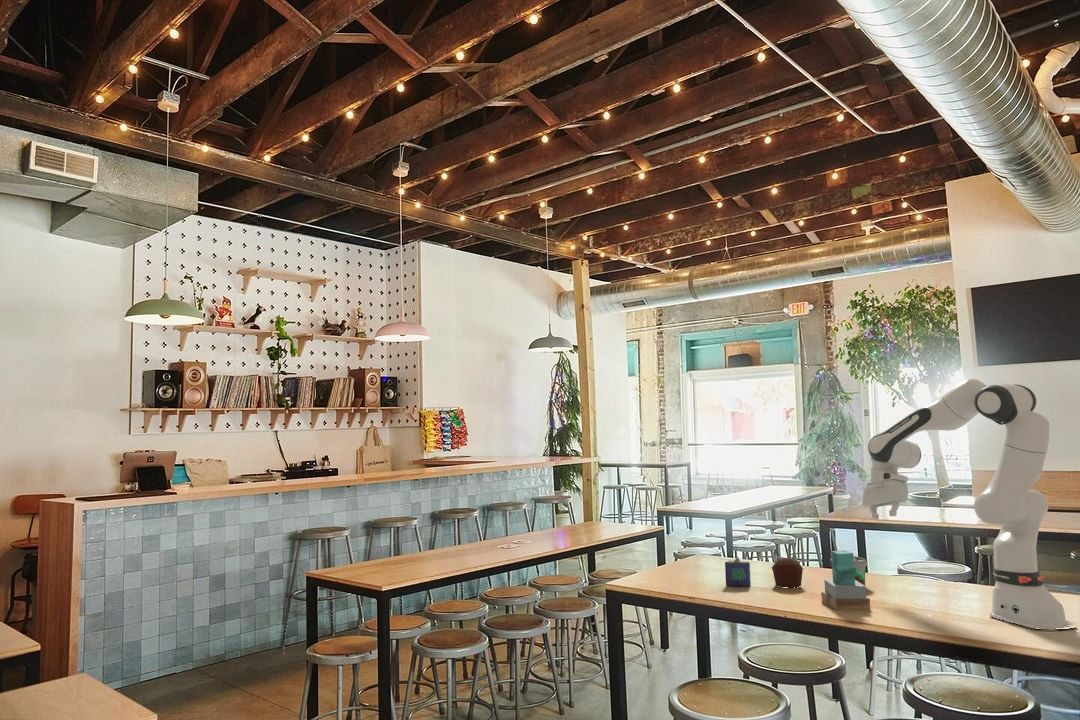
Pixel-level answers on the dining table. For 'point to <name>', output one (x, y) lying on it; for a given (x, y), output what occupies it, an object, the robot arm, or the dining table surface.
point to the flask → (737, 573)
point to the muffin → (787, 573)
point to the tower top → (845, 590)
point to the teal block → (843, 567)
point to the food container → (859, 569)
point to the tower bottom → (845, 603)
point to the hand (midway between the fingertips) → (884, 517)
